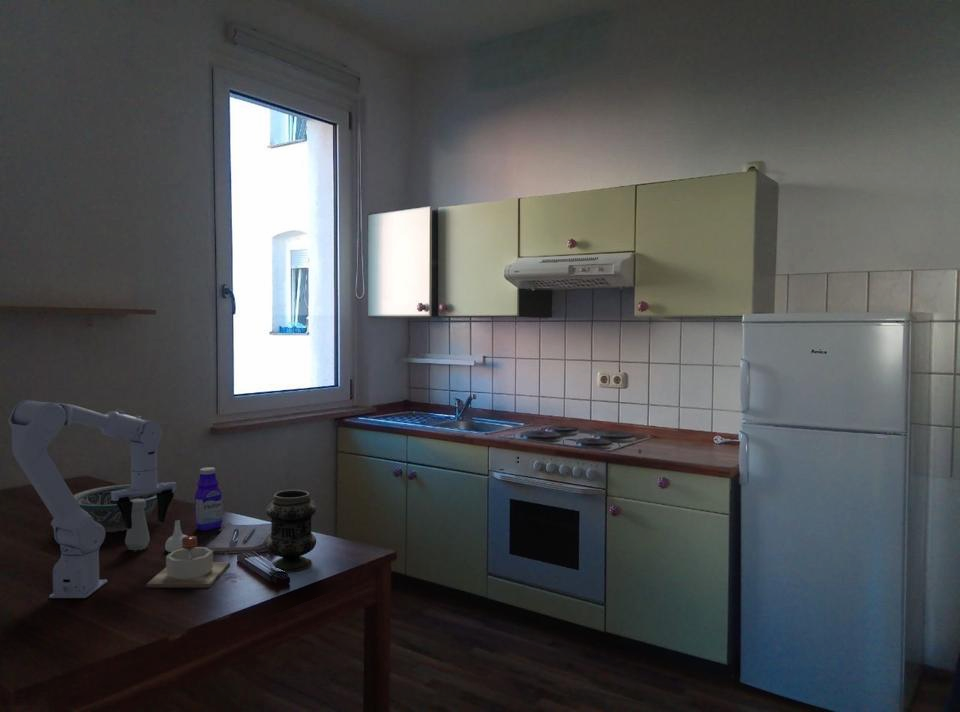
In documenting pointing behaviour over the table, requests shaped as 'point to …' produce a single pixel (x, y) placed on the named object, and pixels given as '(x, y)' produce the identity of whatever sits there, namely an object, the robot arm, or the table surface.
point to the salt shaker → (138, 527)
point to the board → (203, 581)
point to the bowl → (109, 506)
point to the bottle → (208, 501)
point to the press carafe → (189, 563)
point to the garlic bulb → (175, 539)
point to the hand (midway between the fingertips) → (145, 524)
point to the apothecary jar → (291, 529)
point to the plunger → (189, 544)
